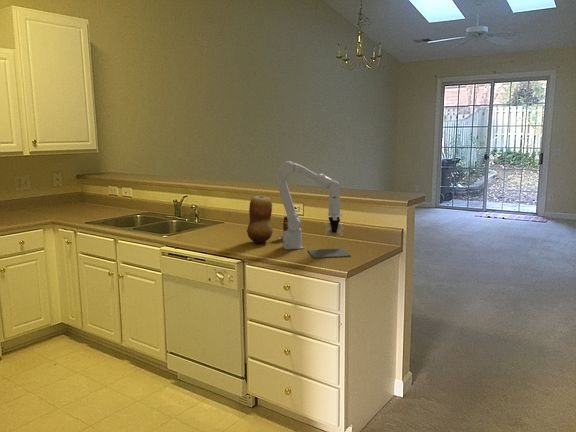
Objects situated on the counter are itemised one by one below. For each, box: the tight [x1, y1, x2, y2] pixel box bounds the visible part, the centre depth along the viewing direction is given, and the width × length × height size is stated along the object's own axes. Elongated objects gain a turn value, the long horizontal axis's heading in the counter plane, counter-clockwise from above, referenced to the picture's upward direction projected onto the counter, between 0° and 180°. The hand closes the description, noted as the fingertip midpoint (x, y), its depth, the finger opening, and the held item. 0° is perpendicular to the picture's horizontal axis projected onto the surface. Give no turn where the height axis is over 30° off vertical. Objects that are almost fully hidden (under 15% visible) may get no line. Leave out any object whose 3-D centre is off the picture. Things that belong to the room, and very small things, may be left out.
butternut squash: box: [246, 195, 274, 244], centre depth 261 cm, size 14×13×25 cm
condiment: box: [278, 216, 288, 240], centre depth 272 cm, size 7×8×12 cm
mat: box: [307, 247, 352, 259], centre depth 239 cm, size 18×14×1 cm
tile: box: [325, 222, 345, 237], centre depth 249 cm, size 9×3×6 cm, turn 88°
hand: (334, 231), depth 249 cm, fingers closed on tile, 3 cm apart
